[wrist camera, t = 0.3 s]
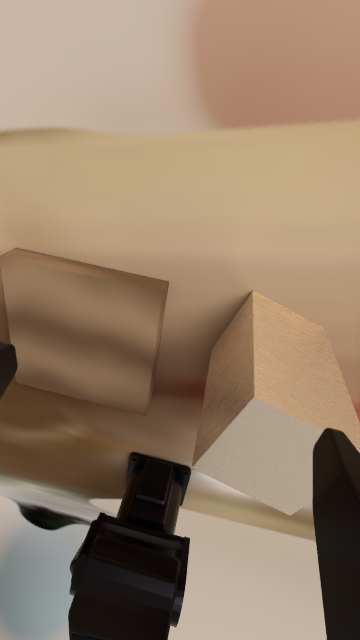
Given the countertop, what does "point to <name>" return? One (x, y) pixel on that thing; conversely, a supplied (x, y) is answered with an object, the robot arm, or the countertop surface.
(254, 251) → the countertop surface
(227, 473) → the cream tea tin
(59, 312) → the walnut block
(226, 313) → the countertop surface
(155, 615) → the robot arm
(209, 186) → the countertop surface
